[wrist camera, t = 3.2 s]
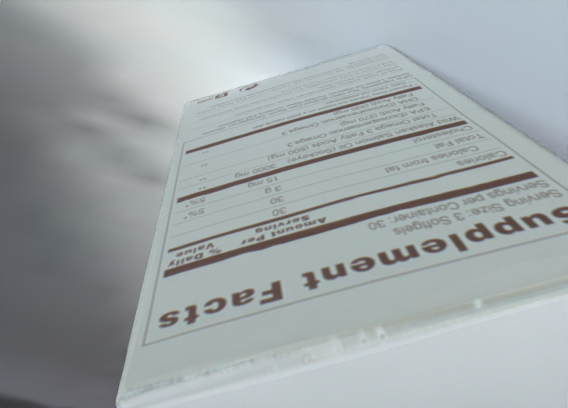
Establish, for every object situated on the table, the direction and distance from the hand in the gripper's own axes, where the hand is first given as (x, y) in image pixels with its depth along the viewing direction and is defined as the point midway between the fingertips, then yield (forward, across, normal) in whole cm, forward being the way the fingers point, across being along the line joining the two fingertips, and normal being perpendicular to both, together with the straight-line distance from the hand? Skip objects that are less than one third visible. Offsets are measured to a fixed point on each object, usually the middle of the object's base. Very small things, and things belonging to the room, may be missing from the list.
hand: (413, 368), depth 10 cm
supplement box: (+10, +1, 0) cm, 10 cm away
